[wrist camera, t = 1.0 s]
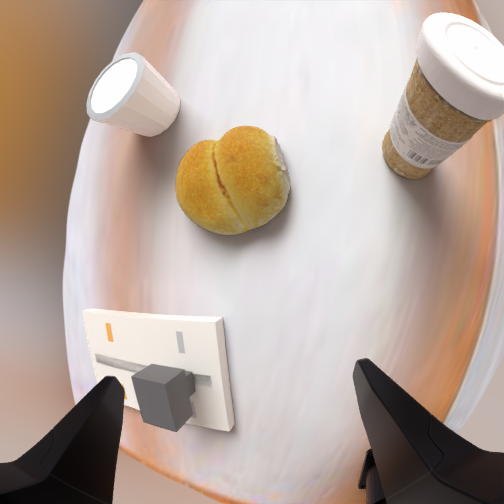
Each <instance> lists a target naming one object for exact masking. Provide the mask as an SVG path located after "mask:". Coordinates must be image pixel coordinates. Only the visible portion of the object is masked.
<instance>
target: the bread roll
mask: <svg viewBox="0 0 504 504" xmlns="http://www.w3.org/2000/svg"><path fill="white" fill-rule="evenodd" d="M175 187H176V196H177V200H178V202H179V205H180V207H181V209H182V210H183V211H184V213H185V214H186V215H187V216H188V217H189V218H190V219H191V220H192V221H193V222H194V223H196V224H197V225H199V226H200V227H202V228H204V229H206V230H208V231H211V232H214V233H219V234H224V235H237V234H241V233H244V232H246V231H248V230H251V229H254V228H258V227H260V226H263V225H264V224H266V223H267V222H269V221H270V220H271V219H273V218H274V217H275V216H276V215H277V214H278V213H279V212H280V211H281V210H282V209H283V208H284V206H285V204H286V201H287V198H288V194H289V191H290V181H289V176H288V171H287V167H286V164H285V161H284V157H283V154H282V153H281V150H280V146H279V144H278V142H277V139H276V138H275V136H271V135H269V134H268V133H266V132H265V131H264V130H262V129H260V128H258V127H253V126H240V127H236V128H233V129H231V130H229V131H228V132H227V133H226V134H225V135H224V136H223V137H222V138H221V139H220V140H219V141H215V140H204V141H201V142H199V143H197V144H195V145H194V146H192V147H191V148H190V149H189V150H188V151H187V152H186V154H185V155H184V157H183V158H182V160H181V162H180V164H179V167H178V171H177V175H176V186H175Z"/></svg>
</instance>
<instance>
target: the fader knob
mask: <svg viewBox="0 0 504 504" xmlns="http://www.w3.org/2000/svg"><path fill="white" fill-rule="evenodd" d="M131 378H132V382H133V386H134V390H135V394H136V398H137V401H138V405H139V409H140V412H141V415H142V419H143V422H145V423H148V424H151V425H154V426H157V427H160V428H164V429H167V430H171V431H174V432H177V431H178V430H179V429H180V428H181V427H182V426H183V425H184V424H185V423H186V422H187V421H188V420H189V418H190V417H191V416H192V415H193V411H192V406H191V401H190V396H191V395H192V394H193V393H194V392H195V391H196V390H195V385H194V379H193V373H192V372H191V371H185V369H180V368H174V367H168V366H162V365H157V364H151V365H149V366H147V367H146V368H144V369H142V370H141V371H139V372H137V373H135V374H134V375H132V376H131Z"/></svg>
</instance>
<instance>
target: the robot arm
mask: <svg viewBox="0 0 504 504" xmlns="http://www.w3.org/2000/svg"><path fill="white" fill-rule="evenodd" d="M353 381H354V385H355V390H356V395H357V400H358V405H359V410H360V414H361V418H362V421H363V424H364V427H365V430H366V433H367V436H368V439H369V443H370V446H371V449H369V450H368V451H367V452H366V457H365V461H364V465H363V469H362V473H361V477H360V481H359V486H358V487H359V489H366V504H504V453H502V452H489V451H485V450H482V449H480V448H478V447H476V446H475V445H473V444H472V443H470V442H469V441H467V440H465V439H464V438H462V437H461V436H459V435H458V434H456V433H455V432H453V431H452V430H451V429H449V428H448V427H446V426H445V425H444V424H443V423H442V422H440V421H439V420H438V419H437V418H436V417H434V416H433V415H432V414H431V413H430V412H429V411H427V410H426V409H425V408H424V407H423V406H422V405H421V404H419V403H418V402H417V401H416V400H415V399H414V398H413V397H411V396H410V395H409V394H408V393H407V392H406V391H405V390H403V389H402V388H401V387H400V386H399V385H398V384H397V383H395V382H394V381H393V380H392V379H391V378H390V377H389V376H387V375H386V374H385V373H384V372H383V371H382V370H381V369H379V368H378V367H377V366H376V365H375V364H374V363H373V362H372V361H370V360H369V359H367V358H364V359H360V360H357V361H356V364H355V368H354V372H353ZM124 398H125V390H124V388H123V386H122V385H121V383H120V382H119V380H118V379H117V378H116V377H115V376H105V377H104V378H103V379H102V380H101V381H100V382H99V383H98V384H97V385H96V386H95V387H94V388H93V389H92V390H91V391H90V392H89V393H88V394H87V395H86V396H85V397H84V398H83V399H82V400H81V401H80V402H79V403H78V404H77V405H76V406H75V407H74V408H73V409H72V410H71V411H70V412H69V413H68V414H67V415H66V416H65V417H64V418H63V419H62V420H61V421H60V422H59V423H58V424H57V425H56V426H55V427H54V428H53V429H52V430H51V431H50V432H49V433H48V434H47V435H45V436H44V437H43V438H42V439H41V440H40V441H39V442H38V443H37V444H36V445H34V446H33V447H32V448H31V449H30V450H29V451H27V452H26V453H25V454H23V455H22V456H21V457H20V458H18V459H17V460H15V461H12V462H8V463H0V504H112V500H113V489H114V480H115V471H116V463H117V455H118V449H119V443H120V437H121V431H122V423H123V410H124ZM370 453H372V454H370Z"/></svg>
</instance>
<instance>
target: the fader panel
mask: <svg viewBox="0 0 504 504" xmlns="http://www.w3.org/2000/svg"><path fill="white" fill-rule="evenodd" d="M82 315H83V321H84V327H85V332H86V337H87V342H88V347H89V351H90V356H91V360H92V364H93V368H94V372H95V376H96V379H97V383H99V382H100V381H101V380H102V379H103V378H104V377H105V376H115V377H116V378H117V379H118V380H119V382H120V383H121V385H122V386H123V388H124V390H125V398H124V405H126V406H129V407H132V408H135V409H138V410H140V409H139V405H138V401H137V398H136V394H135V390H134V386H133V382H132V378H131V376H132V375H134V374H135V373H137V372H139V371H141V370H142V369H144V368H146V367H147V366H149V365H151V364H157V365H162V366H168V367H174V368H180V369H185V371H191V372H192V373H193V379H194V385H195V390H196V391H195V392H194V393H193V394H192V395H191V396H190V401H191V406H192V411H193V415H192V416H191V417H190V418H189V420H188V421H187V422H186V423H188V424H192V425H196V426H201V427H206V428H211V429H216V430H222V431H228V432H230V430H231V428H232V427H233V425H234V424H235V420H234V413H233V405H232V397H231V389H230V381H229V373H228V364H227V355H226V346H225V336H224V327H223V317H200V316H178V315H161V314H146V313H133V312H122V311H112V310H102V309H93V308H90V309H86V310H82Z"/></svg>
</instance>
